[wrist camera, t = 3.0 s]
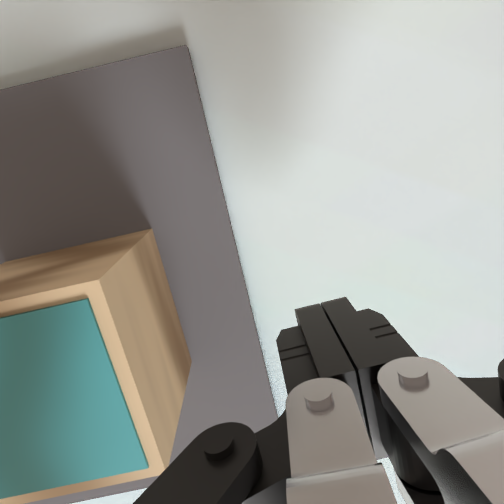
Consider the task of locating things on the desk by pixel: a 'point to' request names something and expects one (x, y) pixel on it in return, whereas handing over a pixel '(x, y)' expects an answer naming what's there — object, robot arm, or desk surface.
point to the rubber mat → (138, 216)
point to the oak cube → (88, 368)
